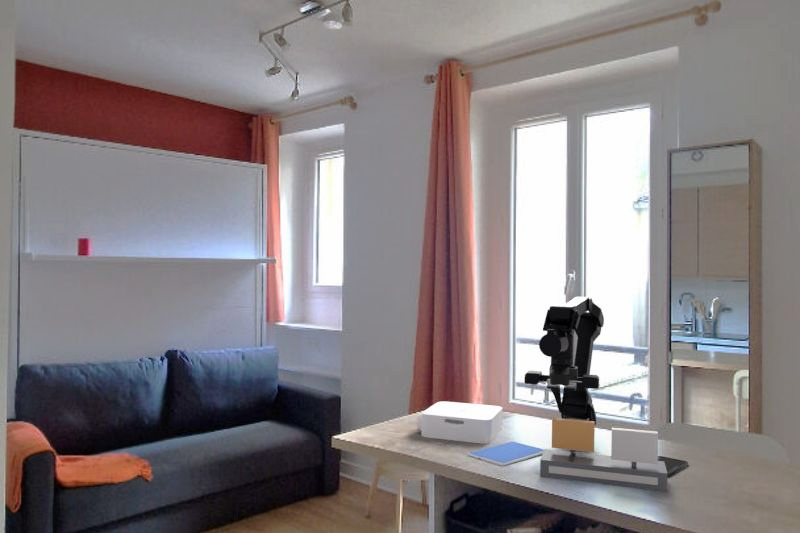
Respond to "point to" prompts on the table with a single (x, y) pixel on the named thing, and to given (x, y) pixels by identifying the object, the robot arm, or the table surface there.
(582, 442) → the amber toggle
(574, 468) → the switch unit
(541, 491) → the table surface
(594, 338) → the robot arm
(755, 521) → the table surface
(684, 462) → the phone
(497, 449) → the tablet computer
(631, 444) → the grey toggle
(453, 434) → the projector
